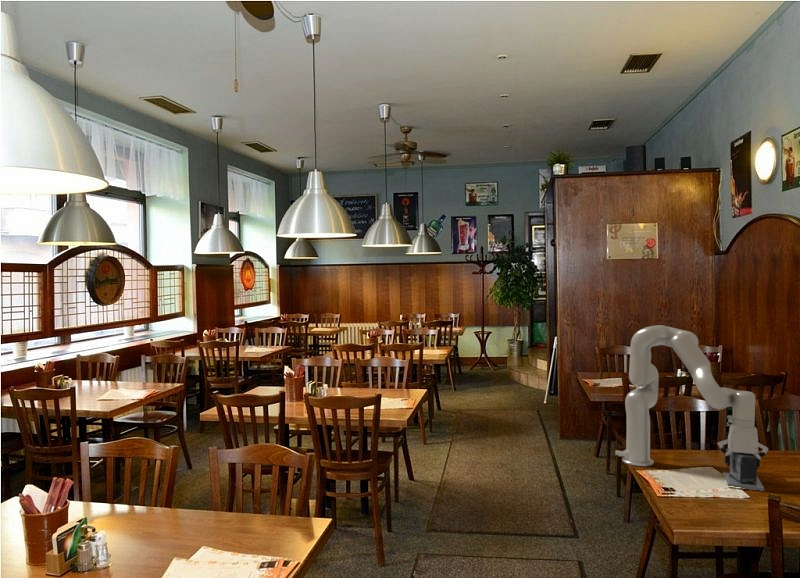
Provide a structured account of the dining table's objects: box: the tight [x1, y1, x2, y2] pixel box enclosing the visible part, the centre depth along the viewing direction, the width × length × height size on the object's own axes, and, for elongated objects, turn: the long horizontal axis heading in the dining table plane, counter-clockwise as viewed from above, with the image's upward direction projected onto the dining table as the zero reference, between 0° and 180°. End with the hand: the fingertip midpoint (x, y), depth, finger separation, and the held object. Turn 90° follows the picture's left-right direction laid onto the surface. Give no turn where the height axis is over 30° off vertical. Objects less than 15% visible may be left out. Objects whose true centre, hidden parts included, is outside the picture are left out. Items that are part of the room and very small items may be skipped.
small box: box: [728, 452, 758, 484], centre depth 237 cm, size 11×6×10 cm, turn 173°
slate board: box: [722, 471, 765, 492], centre depth 237 cm, size 12×15×2 cm
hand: (741, 466), depth 238 cm, fingers open, 9 cm apart
